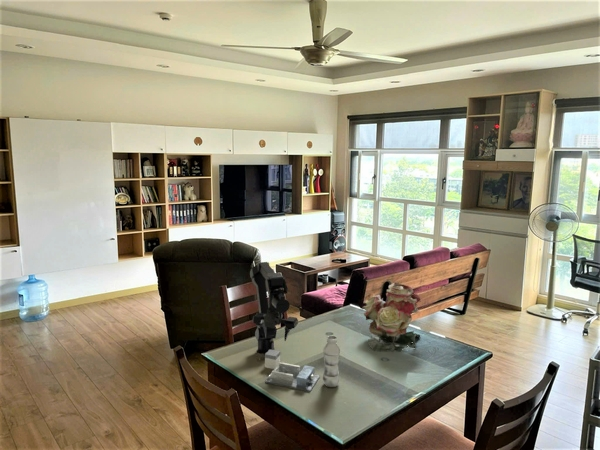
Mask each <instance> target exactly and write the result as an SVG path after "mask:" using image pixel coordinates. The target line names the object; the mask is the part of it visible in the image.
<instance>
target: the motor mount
mask: <svg viewBox="0 0 600 450" xmlns="http://www.w3.org/2000/svg"><path fill="white" fill-rule="evenodd" d="M320 376H321V375H319V374H315V366H310V365H304V366H303V368H302V369H301V365H298V364H297V365H296V364H291V363H286V362H281V361H280V363H279V366H278V367H276V368H275V369H272V371H271V373H270V374H269V375H268V376H267V378H266V380H265V384H270V385H274V386H280V387H284V388H288V389H289V388H290V389H293V390H299V391H302V392H308V393H311V392H312V390H313V389H314V387H315V385H316V384H317V382H318V380H319V379H320V378H321V377H320Z"/></svg>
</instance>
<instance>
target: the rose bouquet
mask: <svg viewBox="0 0 600 450" xmlns="http://www.w3.org/2000/svg"><path fill="white" fill-rule="evenodd" d="M414 292H415V291H414V290H413V287H411V286H409V285H405V284H401V283H399V282H393V283H392V284H389V285H388V289H386V293H385V296H386V297H387V301H384V300H383V299H382V297H381V295H380V294H378V295H372V297H369V298H368V299H367V300H366V301H365V304H366V305H364V306H362V307H361V309H362V310H365V312H364V313H363V315H364V317H365V321H368V320H370V321H372V322H369V323H368V325H369V327H368V330H369V332H370V333H371V334H370V333H369V336H370V337H371V338H368V339H367V344H368V346H370V347H371V349H372V351H374V352H381V353H385V352H387V353H388V352H400V353H402V352H401V351H403V350H402V349H406V348H407V347H408V346H409V347H410V348H416V347H417V346H416V345H417V343H416V337H418V338H419V339H422V338H421V335H420V334H417V333H415V331H416V329H415V330H411V331H408V328H409V325H410V324H411V322H412V319H413V317H412V315H411V314H415V313H417V314H418V313H419V309H418V308H417V307H418V303H420V302H421V301H422V298H421V297H420V296H419V295H418V294H417V293H414ZM413 293H414V294H413ZM411 342H413V343H411ZM406 344H407V345H408V346H407V345H406Z"/></svg>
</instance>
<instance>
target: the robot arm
mask: <svg viewBox="0 0 600 450" xmlns="http://www.w3.org/2000/svg"><path fill="white" fill-rule="evenodd" d="M249 275H250V276H249V277H250V279H251V282H252V284H253V286H255V288H256V289H255V290H256V297H257V305H258V312H257V313H256V314H255V315H253V317H252V324H255V326H257V328H256V329H255V332H254V335H255V337H254V338H255V339H256V340H257V350H256V351H255V352H256V353H260V354H264V355H265V354H266V353H267V352H268V351H269V350H275V344H274V342H275V341H274V339H276V338H277V337H276V336H277V330H278V328H277V326H280V325H281V324H284V326H285V327H284V337H283V338H284V342H286V341H287V339H288V336H289V334H290V332H291V330H292V329H295V328H296V327H297V325H298V324H299V319H298V318H297V317H294V316H288V317H287V318H283V317H284V315H283V314H284V313H286V312H288V311H289V310H290V306H291V304H290V302H289V301H288V299H287V298H286V296H285V294H286V295H287V294H288V290H289V289H288V285H287V281H286V279H285V277H284V276H283V275H282V274H281V273H276V272H275V271H274V270H273V269H272V267H271V265H270V263H269V262H268V261H264V262H263V261H261V262H257V263H256V265H255V266H253V267H252V268H251V269H250V271H249Z"/></svg>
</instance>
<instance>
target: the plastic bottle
mask: <svg viewBox="0 0 600 450" xmlns="http://www.w3.org/2000/svg"><path fill="white" fill-rule="evenodd" d="M326 338H327V339H326V342H327V343H326V344H325V345H324V347H323V349H322V350H323V358H324V359H323V361H324V362H323V363H324V368H323V369H324V370H323V376H322V382H323V385H325V386H326V387H329V388H335V387H338V386H339V384H340V373H339V359H340V352H341V350H340V347H339V345H338V343H337V342H338V340H337V336H336V335H328V336H327V337H326Z"/></svg>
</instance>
